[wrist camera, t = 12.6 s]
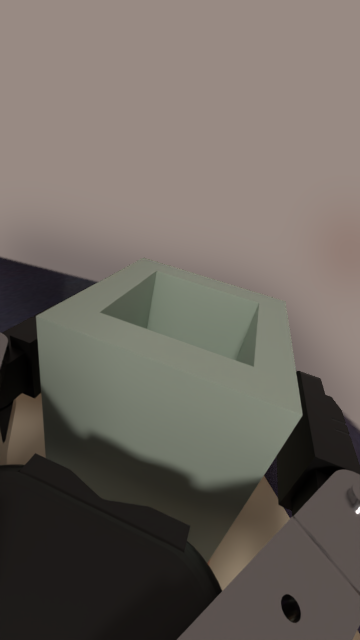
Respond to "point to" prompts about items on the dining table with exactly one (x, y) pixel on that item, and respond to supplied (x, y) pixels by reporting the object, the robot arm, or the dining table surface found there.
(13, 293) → the dining table surface
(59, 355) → the sleeve
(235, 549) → the post board
